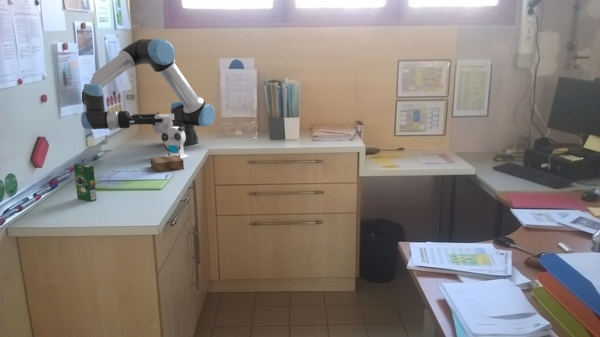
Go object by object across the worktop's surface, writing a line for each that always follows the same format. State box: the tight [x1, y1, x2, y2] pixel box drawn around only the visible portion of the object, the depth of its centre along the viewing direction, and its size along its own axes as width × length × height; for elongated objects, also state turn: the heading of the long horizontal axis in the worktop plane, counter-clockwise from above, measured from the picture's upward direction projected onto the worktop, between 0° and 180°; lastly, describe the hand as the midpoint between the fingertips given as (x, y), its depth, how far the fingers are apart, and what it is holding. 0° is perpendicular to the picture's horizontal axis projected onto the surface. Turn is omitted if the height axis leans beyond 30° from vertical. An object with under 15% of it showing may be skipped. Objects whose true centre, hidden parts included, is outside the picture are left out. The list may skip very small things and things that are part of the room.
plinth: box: [150, 155, 185, 173], centre depth 241 cm, size 12×12×4 cm
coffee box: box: [73, 162, 97, 202], centre depth 196 cm, size 8×3×13 cm, turn 57°
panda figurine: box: [160, 126, 189, 160], centre depth 261 cm, size 12×11×15 cm
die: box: [151, 113, 173, 134], centre depth 236 cm, size 8×9×10 cm
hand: (172, 118), depth 237 cm, fingers closed on die, 8 cm apart
